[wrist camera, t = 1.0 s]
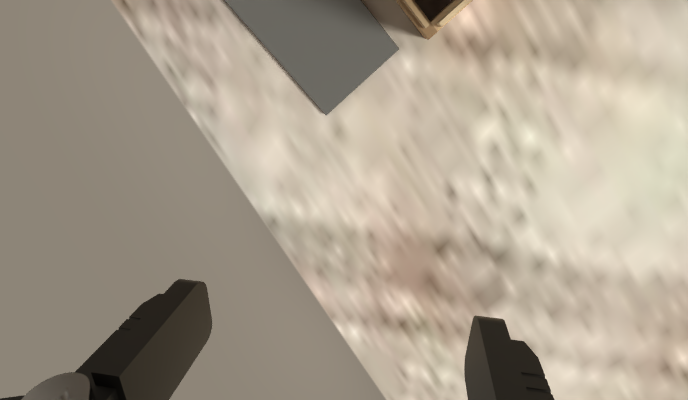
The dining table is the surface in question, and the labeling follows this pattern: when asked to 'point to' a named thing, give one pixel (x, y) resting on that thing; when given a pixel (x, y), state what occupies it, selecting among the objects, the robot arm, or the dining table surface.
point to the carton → (437, 22)
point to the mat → (320, 43)
